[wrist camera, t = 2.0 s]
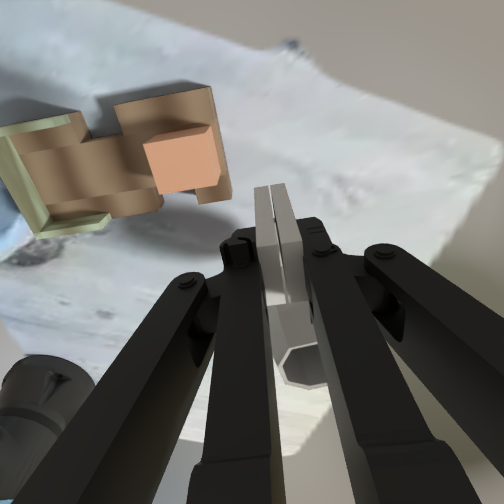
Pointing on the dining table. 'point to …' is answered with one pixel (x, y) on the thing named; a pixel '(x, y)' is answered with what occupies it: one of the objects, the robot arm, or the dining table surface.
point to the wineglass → (295, 342)
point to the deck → (99, 163)
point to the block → (183, 160)
